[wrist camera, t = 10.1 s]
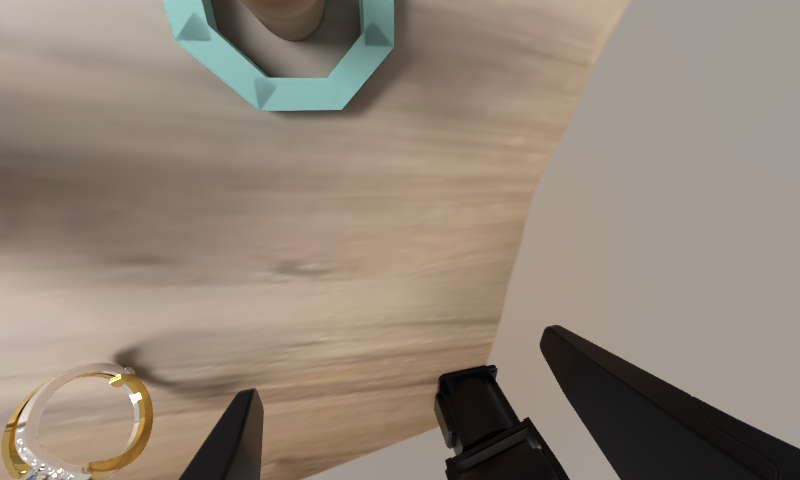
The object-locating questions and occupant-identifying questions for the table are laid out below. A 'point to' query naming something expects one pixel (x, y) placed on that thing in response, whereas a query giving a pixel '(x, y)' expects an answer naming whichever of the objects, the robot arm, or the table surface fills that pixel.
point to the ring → (48, 476)
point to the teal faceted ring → (203, 40)
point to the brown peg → (288, 16)
